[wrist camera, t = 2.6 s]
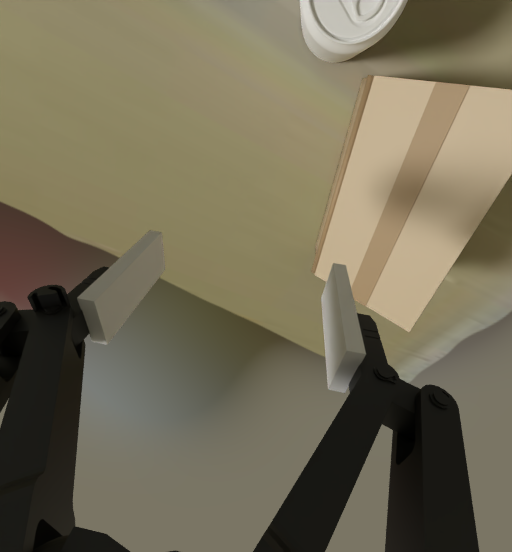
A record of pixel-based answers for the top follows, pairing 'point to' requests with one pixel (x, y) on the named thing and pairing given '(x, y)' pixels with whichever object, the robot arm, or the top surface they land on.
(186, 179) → the top surface
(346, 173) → the lid
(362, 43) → the beverage can
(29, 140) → the top surface
